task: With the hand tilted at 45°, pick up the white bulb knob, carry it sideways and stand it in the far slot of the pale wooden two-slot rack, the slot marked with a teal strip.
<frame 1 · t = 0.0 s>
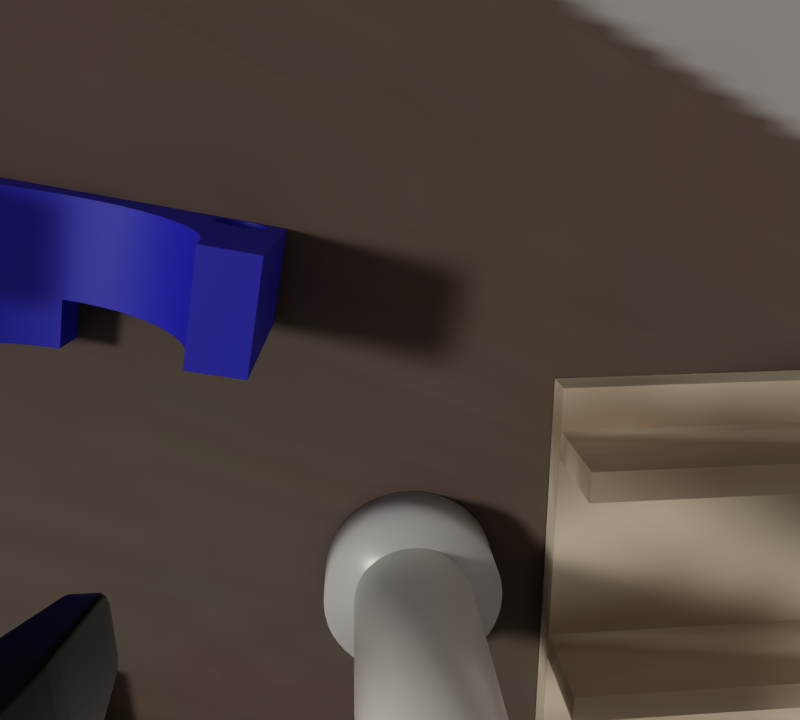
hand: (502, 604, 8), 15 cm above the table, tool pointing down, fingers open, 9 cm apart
blue curved cradle: (85, 264, 21), on the table
white bulb knob: (408, 565, 25), on the table
slot rack: (693, 618, 26), on the table
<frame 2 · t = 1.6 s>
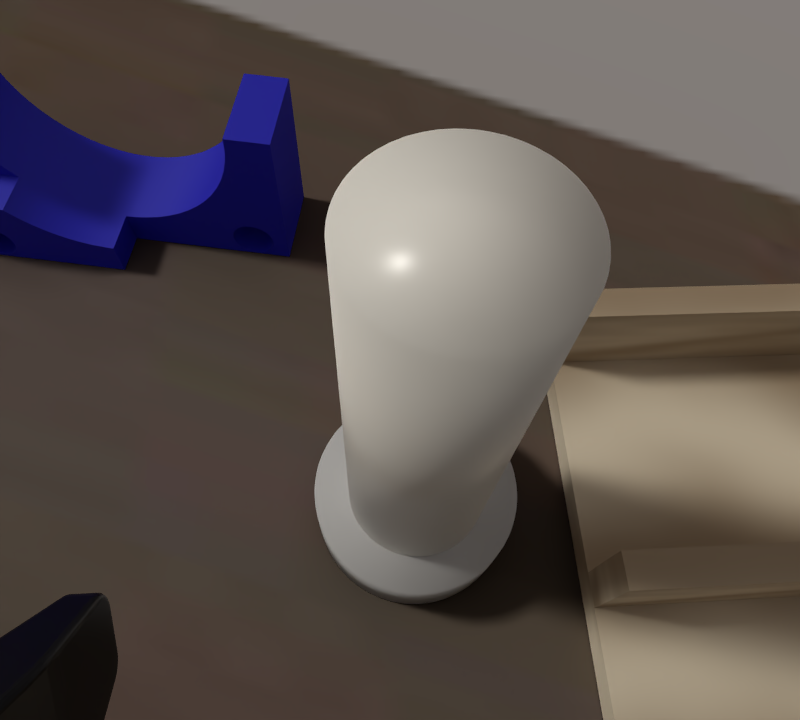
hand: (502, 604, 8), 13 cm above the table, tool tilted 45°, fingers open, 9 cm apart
blue curved cradle: (145, 229, 27), on the table
white bulb knob: (412, 506, 22), on the table
slot rack: (771, 584, 21), on the table
when the fingers open (9 cm above the table, at t = 7.4 s): white bulb knob stays where it is, resting on slot rack.
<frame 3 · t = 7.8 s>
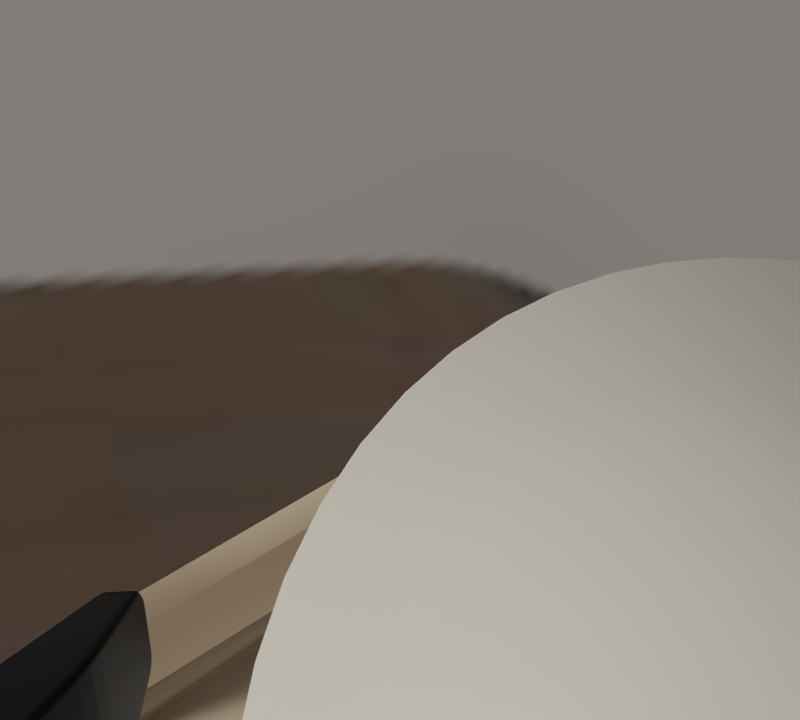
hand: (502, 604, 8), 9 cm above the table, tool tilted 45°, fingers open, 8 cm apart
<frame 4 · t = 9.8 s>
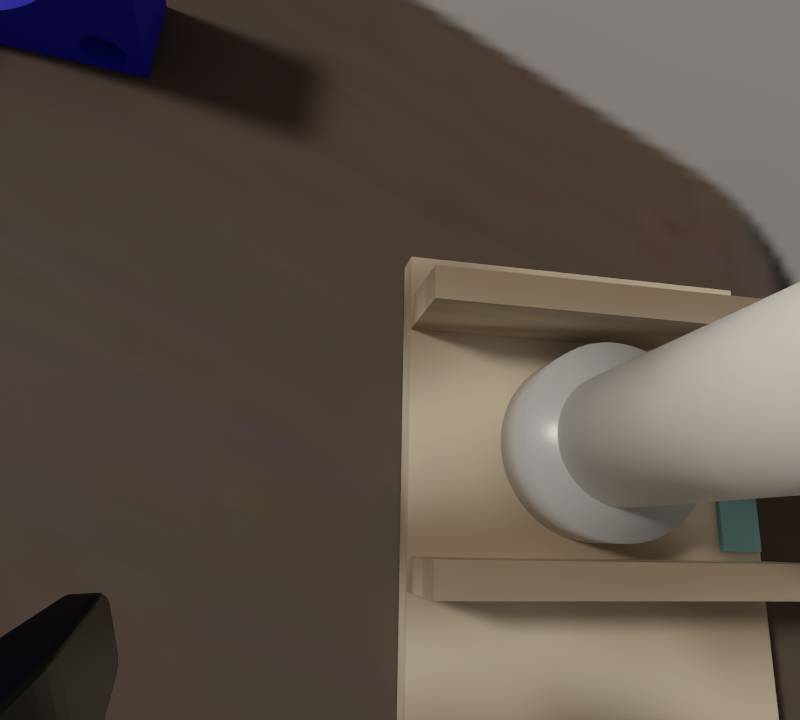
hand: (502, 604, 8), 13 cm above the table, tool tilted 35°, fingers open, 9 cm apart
white bulb knob: (588, 447, 22), point 1 cm above the table, touching slot rack
slot rack: (580, 574, 22), on the table
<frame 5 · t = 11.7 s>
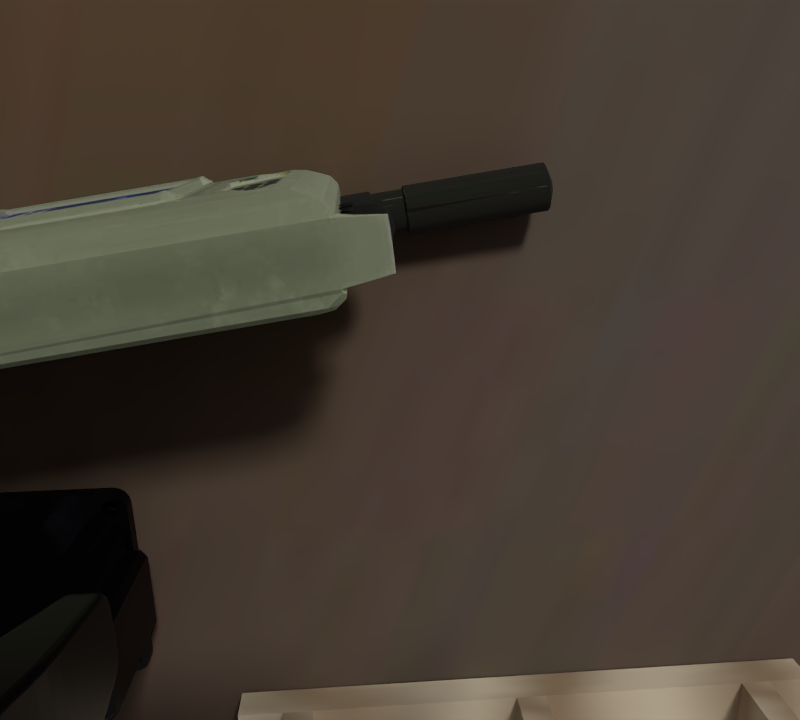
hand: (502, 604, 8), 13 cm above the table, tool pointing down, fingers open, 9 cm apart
handheld radio: (109, 255, 20), on the table
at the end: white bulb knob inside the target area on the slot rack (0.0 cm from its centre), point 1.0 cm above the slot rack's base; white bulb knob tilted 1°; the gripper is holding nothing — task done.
